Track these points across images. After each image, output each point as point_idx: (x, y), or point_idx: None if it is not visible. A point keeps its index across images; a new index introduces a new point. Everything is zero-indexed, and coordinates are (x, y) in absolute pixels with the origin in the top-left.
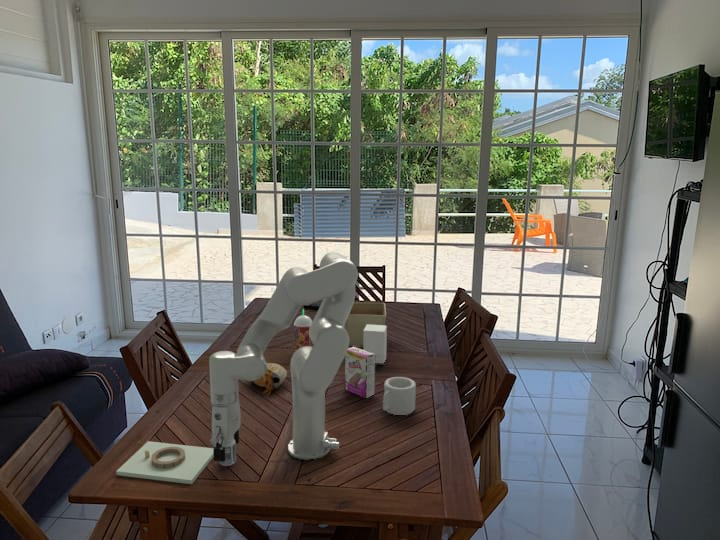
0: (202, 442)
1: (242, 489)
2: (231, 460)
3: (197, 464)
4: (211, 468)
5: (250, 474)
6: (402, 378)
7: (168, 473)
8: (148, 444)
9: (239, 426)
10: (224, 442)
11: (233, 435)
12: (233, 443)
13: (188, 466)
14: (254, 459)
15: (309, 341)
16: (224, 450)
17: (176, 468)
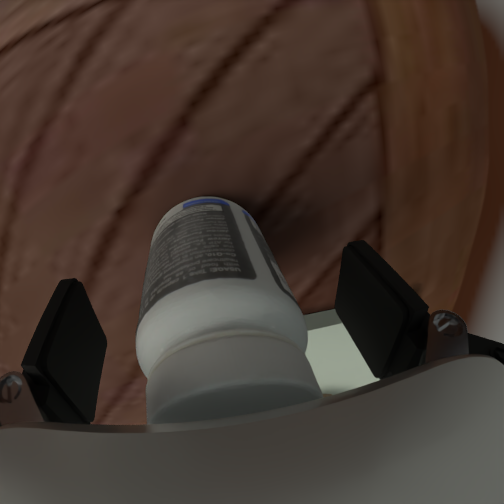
0: (115, 404)
1: (436, 58)
2: (245, 217)
3: (308, 352)
4: (294, 289)
5: (312, 38)
6: None
7: (368, 381)
8: None
9: (35, 440)
10: (431, 360)
11: (213, 386)
12: (236, 296)
13: (326, 367)
14: (120, 88)
15: None
16: (413, 294)
17: (341, 384)
